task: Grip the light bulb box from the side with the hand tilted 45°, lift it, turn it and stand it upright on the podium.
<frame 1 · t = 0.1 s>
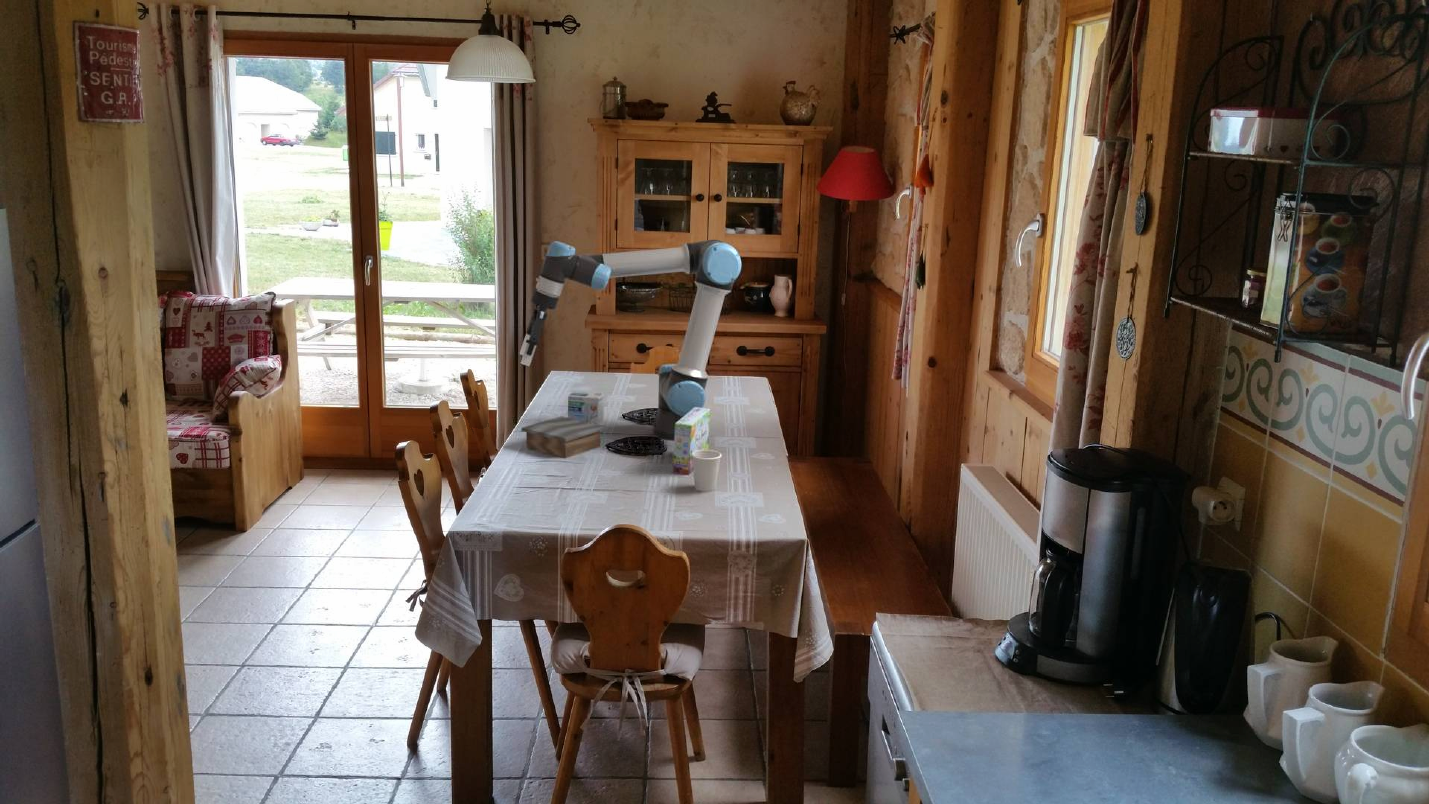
hand: (524, 360, 323), 28 cm above the table, tool tilted 20°, fingers open, 13 cm apart
light bulb box: (585, 426, 357), on the table
snack box: (691, 464, 321), on the table
dixie cup: (705, 489, 299), on the table
podium: (563, 447, 333), on the table
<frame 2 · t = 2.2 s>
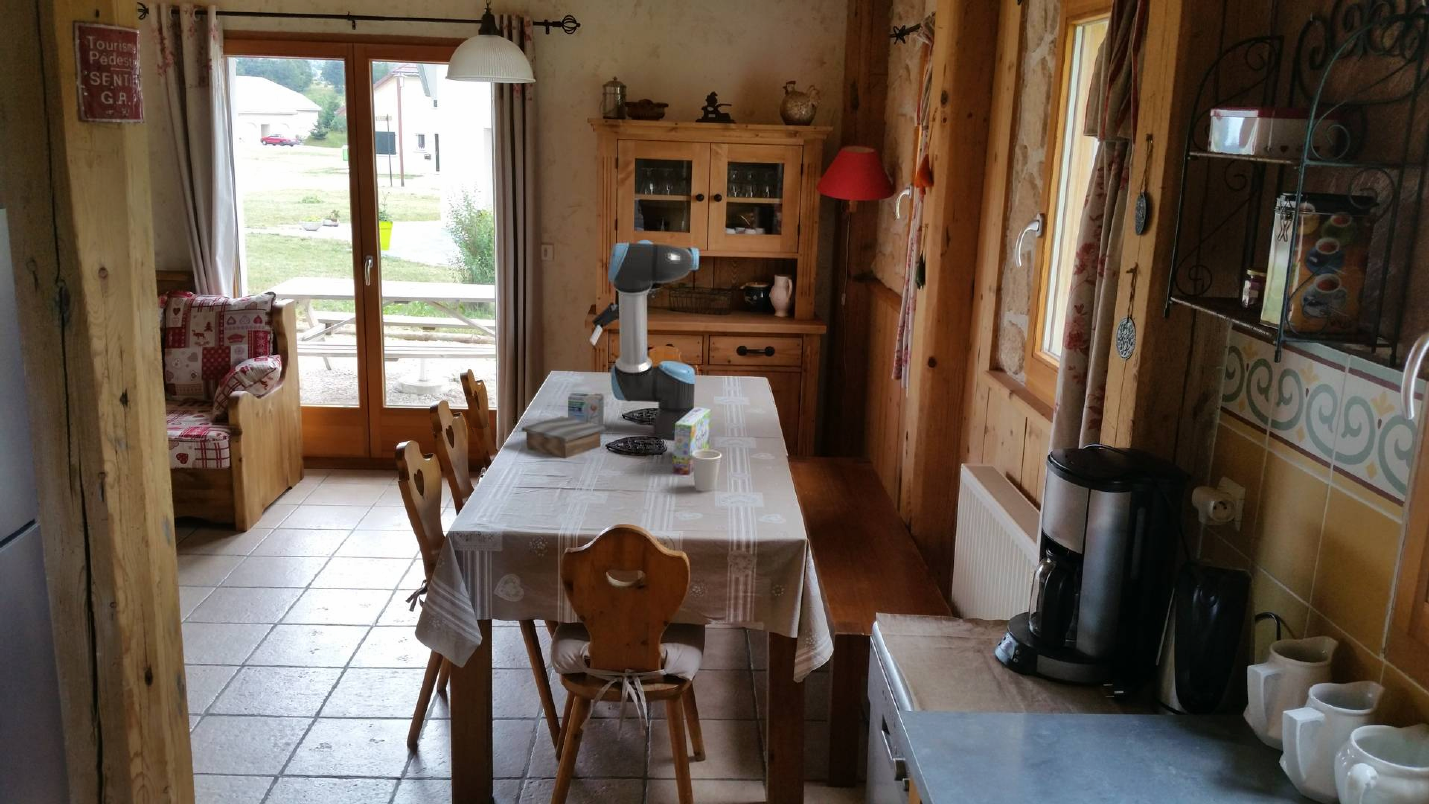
hand: (608, 345, 360), 25 cm above the table, tool tilted 45°, fingers open, 13 cm apart
nothing on the table moved.
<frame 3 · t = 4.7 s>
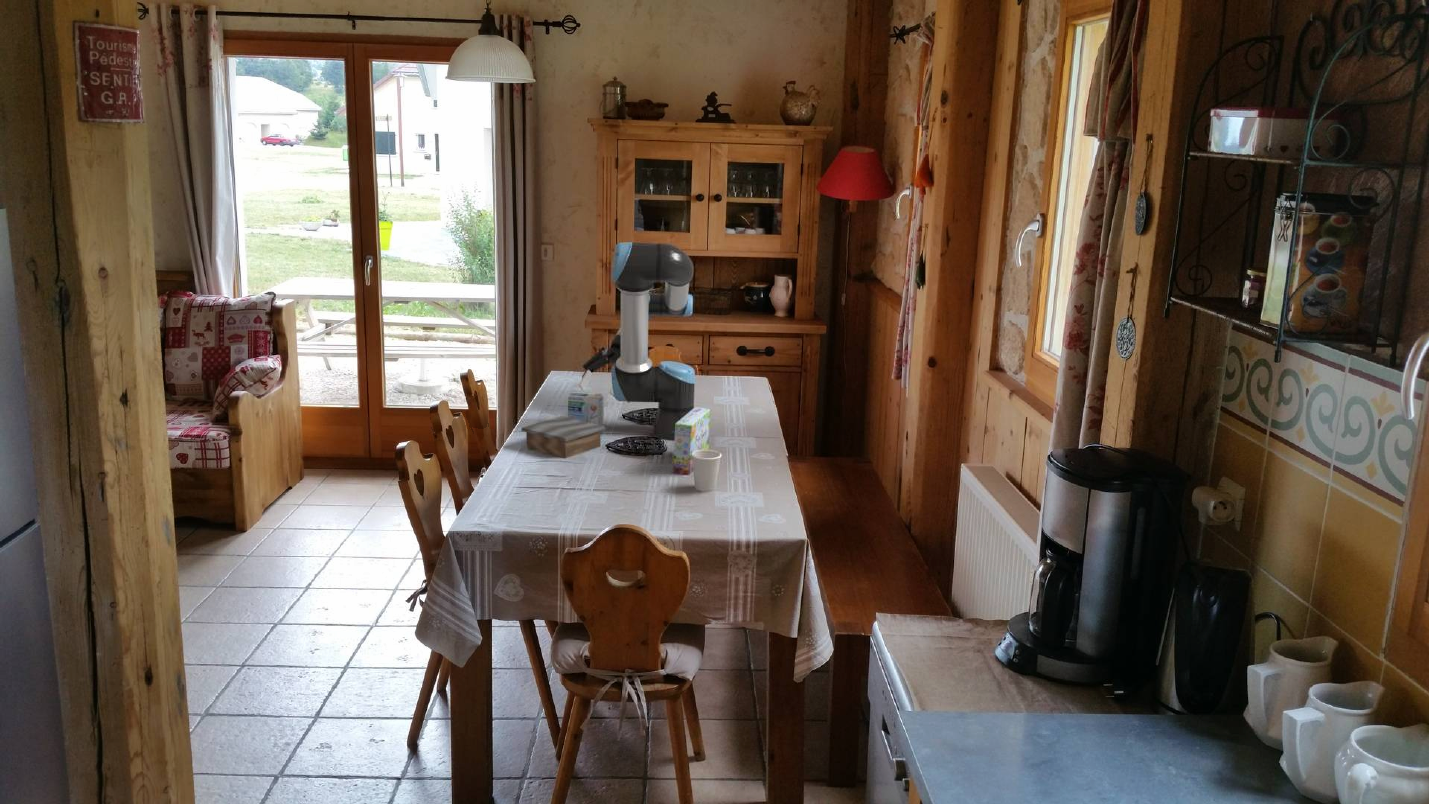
hand: (596, 391, 360), 11 cm above the table, tool tilted 45°, fingers open, 13 cm apart
nothing on the table moved.
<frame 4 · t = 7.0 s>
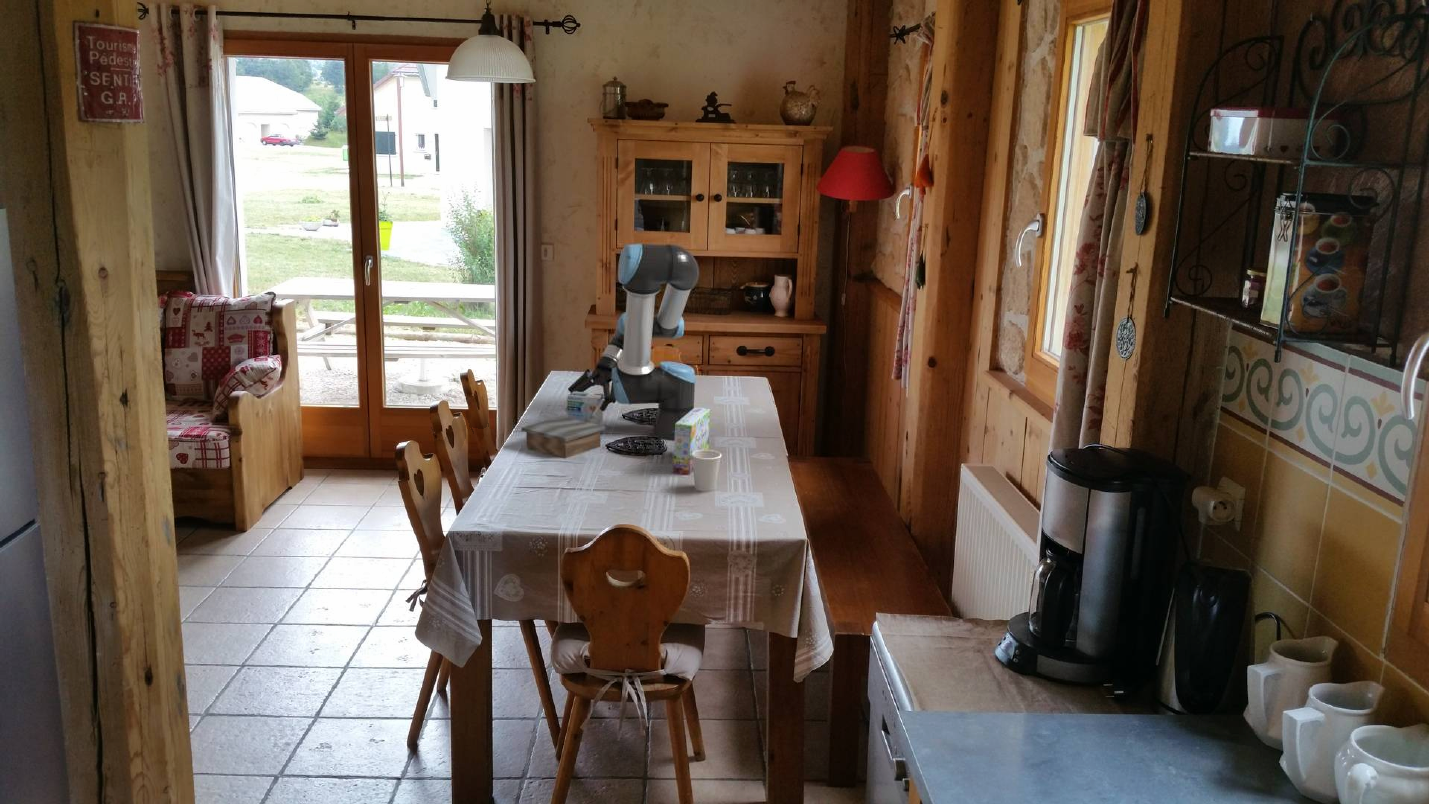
hand: (580, 414, 354), 4 cm above the table, tool tilted 45°, fingers closed on light bulb box, 12 cm apart
light bulb box: (585, 426, 357), on the table, touching gripper
everything else where it was.
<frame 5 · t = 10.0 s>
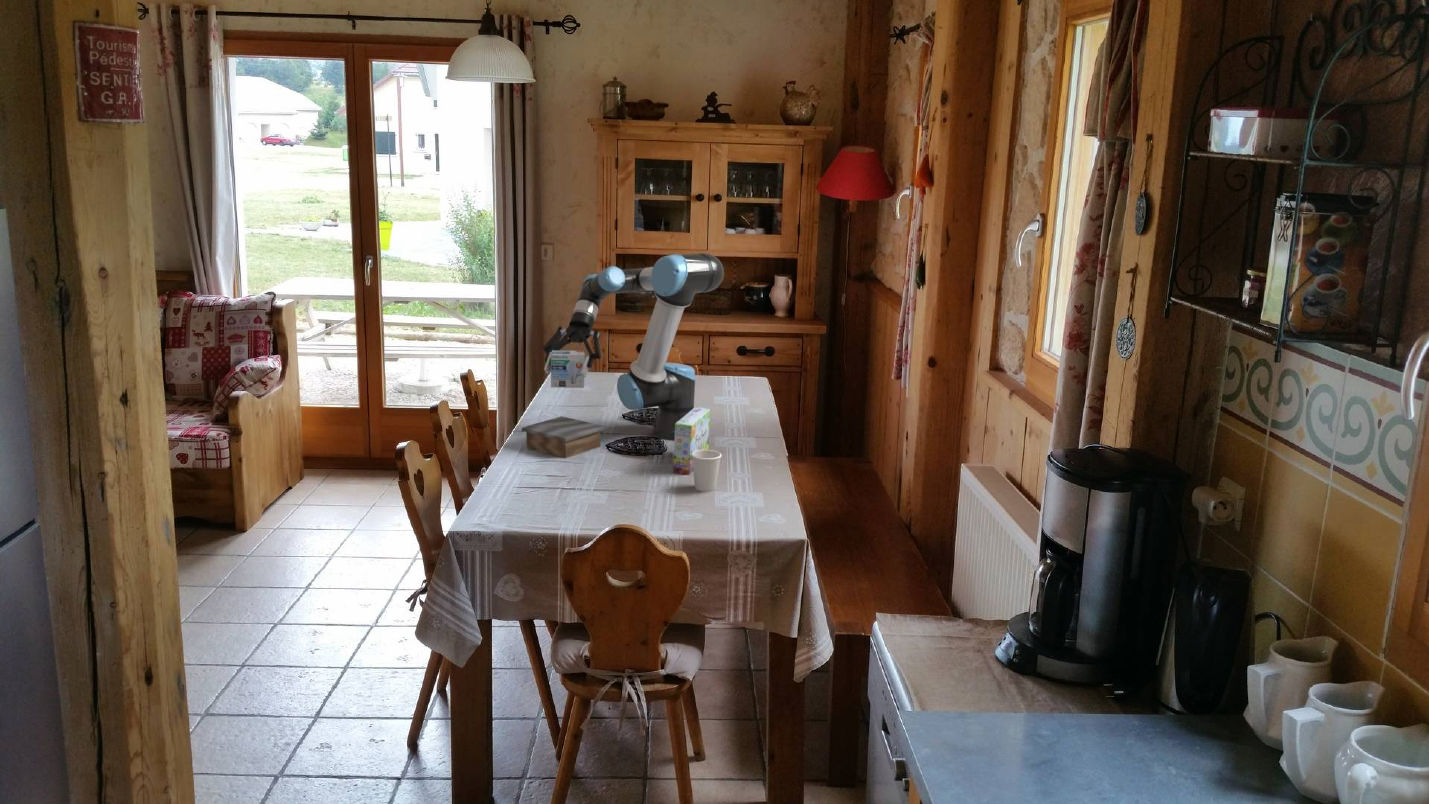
hand: (564, 373, 340), 20 cm above the table, tool tilted 45°, fingers closed on light bulb box, 12 cm apart
light bulb box: (567, 386, 343), point 16 cm above the table, touching gripper
everything else where it was.
when the fingers open (12 cm above the table, at t = 13.2 s): light bulb box drops 1 cm, resting on podium.
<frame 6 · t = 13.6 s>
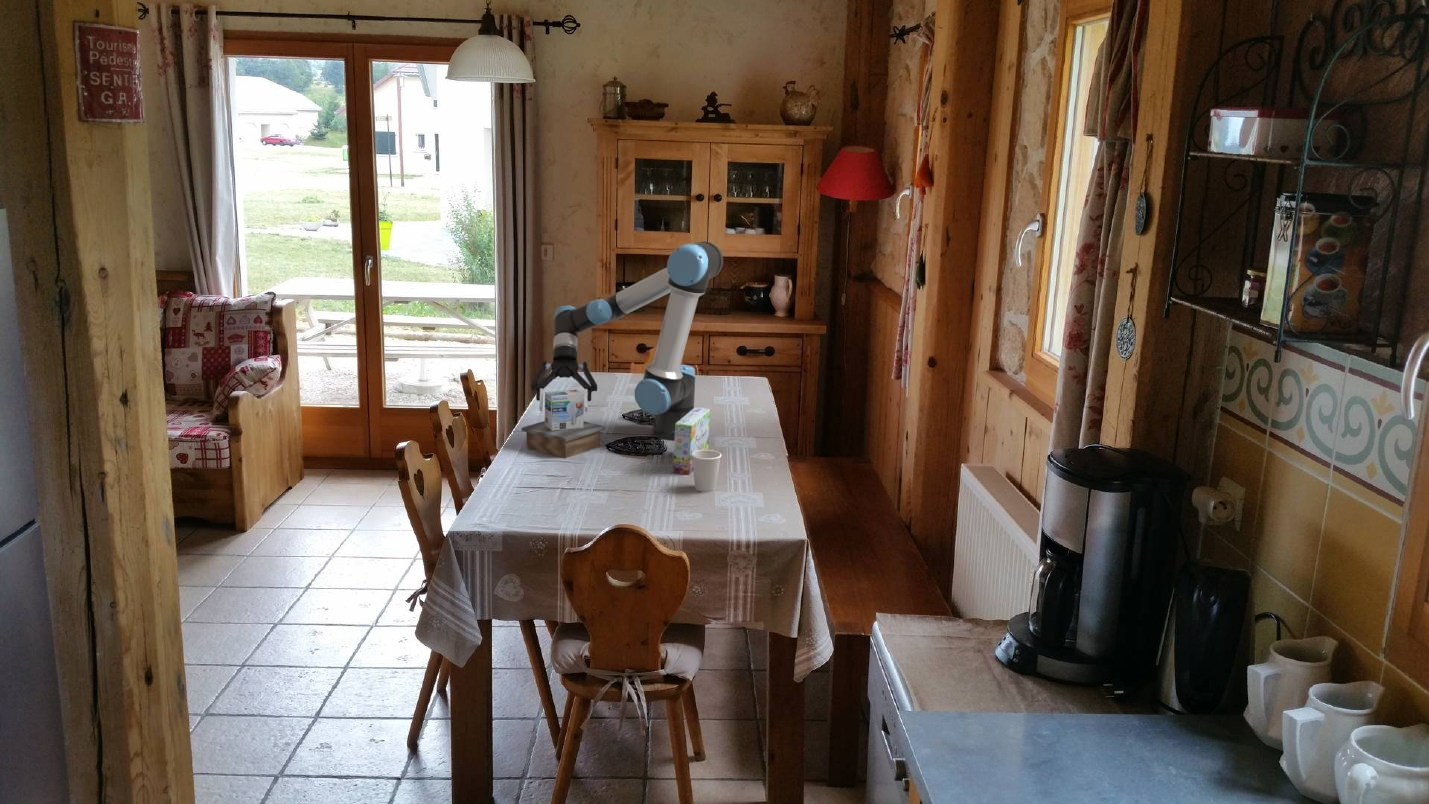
hand: (563, 409, 328), 13 cm above the table, tool tilted 45°, fingers open, 13 cm apart
light bulb box: (564, 427, 331), point 6 cm above the table, touching podium
everything else where it was.
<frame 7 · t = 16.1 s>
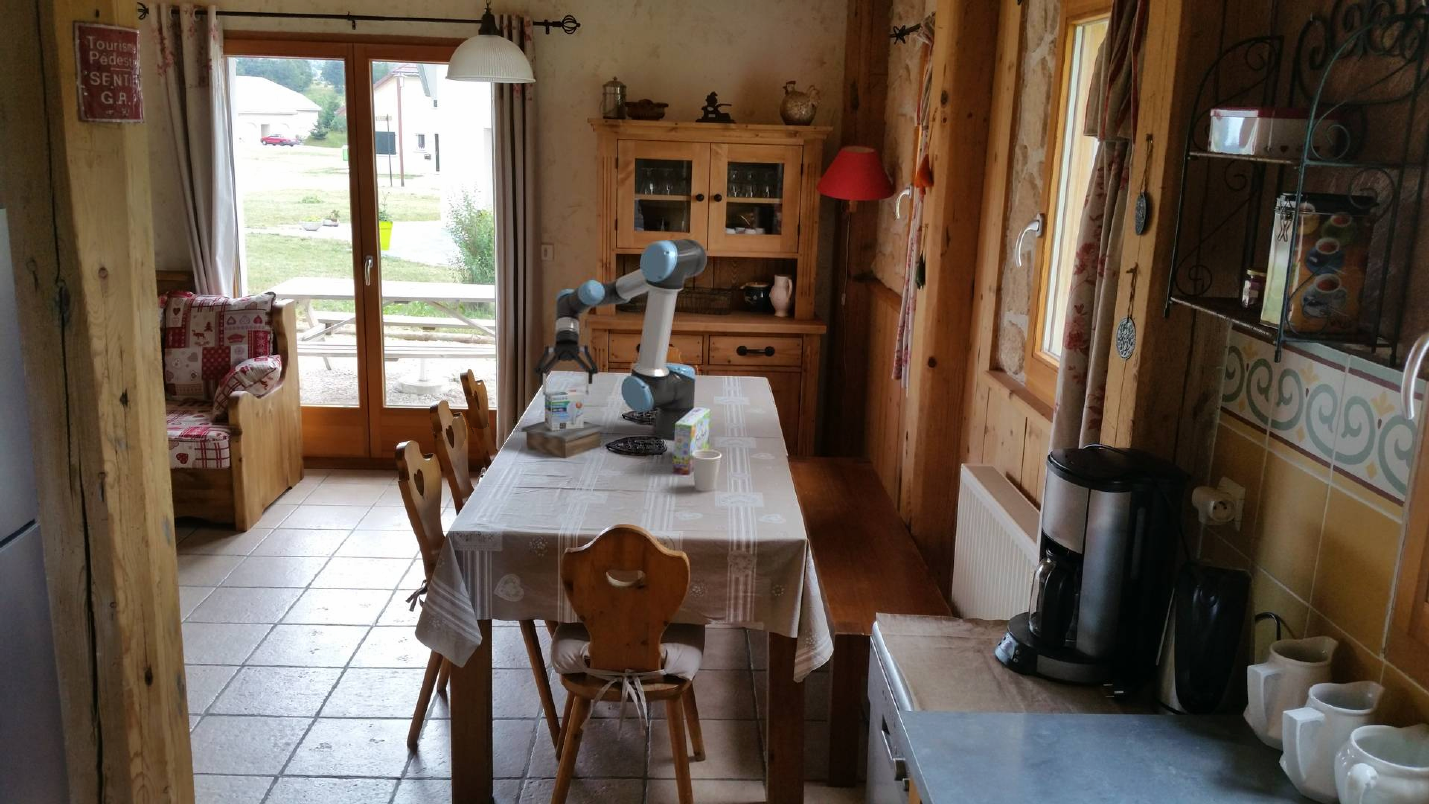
hand: (565, 393, 342), 14 cm above the table, tool tilted 40°, fingers open, 13 cm apart
nothing on the table moved.
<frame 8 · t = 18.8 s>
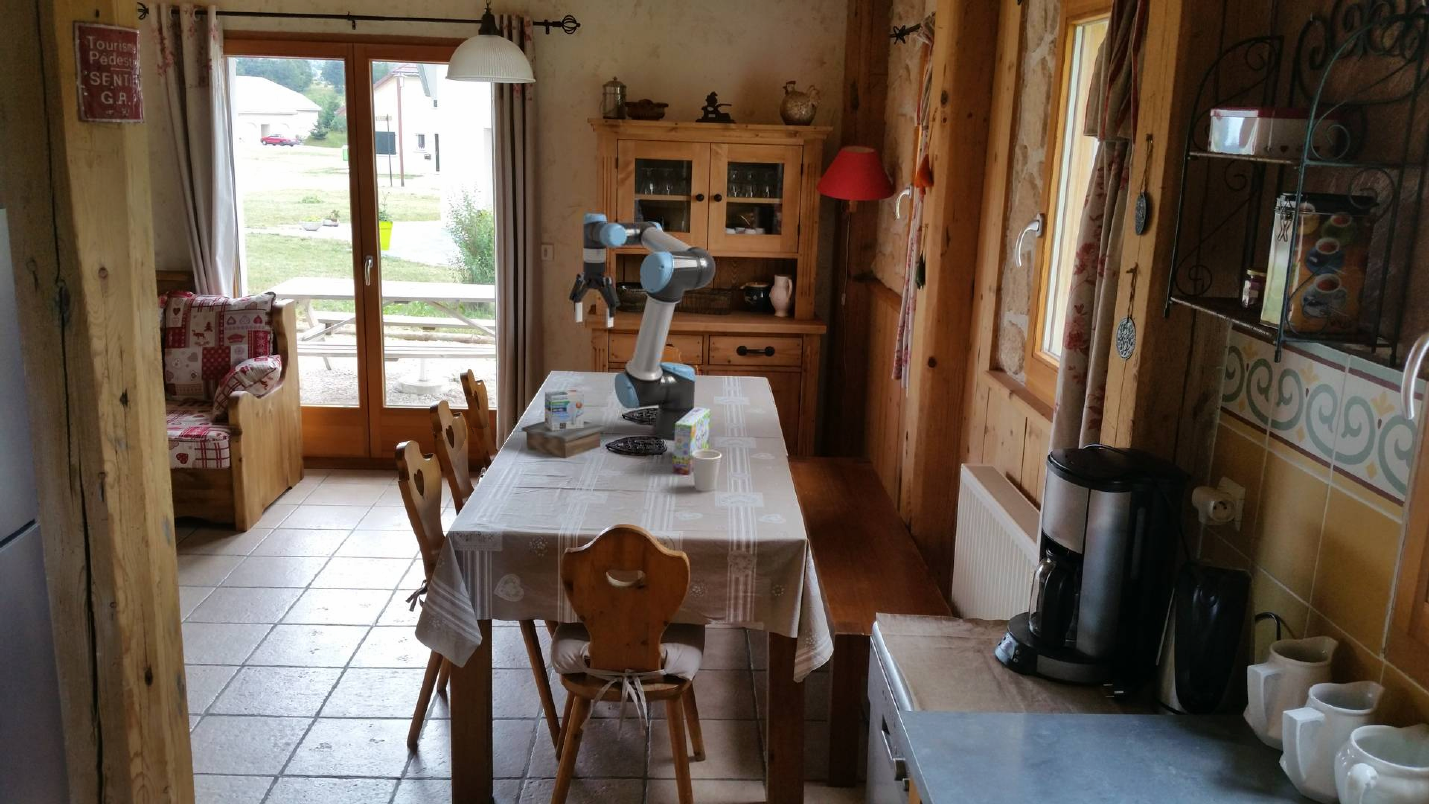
hand: (594, 324, 363), 32 cm above the table, tool pointing down, fingers open, 13 cm apart
nothing on the table moved.
at the end: light bulb box inside the target area on the podium (0.1 cm from its centre), point 6.3 cm above the podium's base; light bulb box tilted 0°; the gripper is holding nothing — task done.
